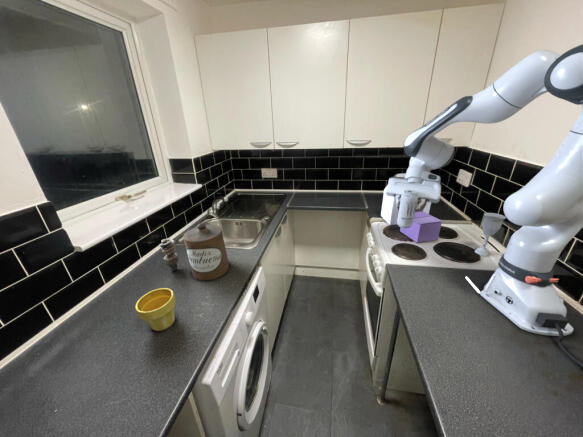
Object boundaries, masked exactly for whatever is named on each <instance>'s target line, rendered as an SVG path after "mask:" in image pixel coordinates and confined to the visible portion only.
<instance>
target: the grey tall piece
mask: <svg viewBox="0 0 583 437" xmlns="http://www.w3.org/2000/svg"><path fill="white" fill-rule="evenodd" d="M159 247H160V250H161V252H162V253H163V254H166V255H165V256H164V257H163V260H164V263H165V265H167V266H168V267H169V270H170V271H172V272H175V271H176V269H178V263H179V256H178V253H177V252H176V249H177V248H176V243H175V240H173V239H171V238H163V239H162V240H161V243H159Z"/></svg>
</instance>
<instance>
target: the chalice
mask: <svg viewBox="0 0 583 437" xmlns="http://www.w3.org/2000/svg"><path fill="white" fill-rule="evenodd" d="M483 216H484V217H483V221H482V223H481V229H482V232H483V235H484V236H485V237H484V238H483V242H482V246H478V247H477V248H476V249H474V253H475V254H477V255H479V256H483V257H488V256H489V255H490V254H489V249H488V248H487V247H486V246H487V245H488V241H489V237H492V236H494V235H495V234H496V233H497V232H499V230H501V227H502V225H503V223H504V221H505V220H506V219H507V217H506V216H505V215H503V214H500V213H495V212H485V213H483Z"/></svg>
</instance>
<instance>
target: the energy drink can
mask: <svg viewBox="0 0 583 437" xmlns="http://www.w3.org/2000/svg"><path fill="white" fill-rule="evenodd" d="M417 201H418V195H417V191H414V190H405V191H404V193H403V194H402V195H401V201H400V207H398V209H399V213H398V219H397V224H396V225H397V226H398V227H399V228H401V227H402V228H410V227H411V226H412V225H413V220H414V215H415V211H416V209H415V208H416V205H417Z"/></svg>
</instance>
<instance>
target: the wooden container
mask: <svg viewBox="0 0 583 437" xmlns="http://www.w3.org/2000/svg"><path fill="white" fill-rule="evenodd" d="M182 237H183V242H184V245H185V249H186V253H187V257H188V261H189V266H190V269H191V272H192V276H193V277H194V278H195V279H197V280H199V281H210V280H214V279H217V278H220V277H222V276H223V275H224V274H226V273H227V271H228V270H229V267H230V265H229V259H228V253H227V248H226V244H225V239H224V234H223V230H222V228H221V226H219V225H216V224H206V223H204V222H198V224H197V225H196V226H195V227H193V228H192V227H191V228H190V229H188V230H187V231H185V232H184V234H183V236H182Z"/></svg>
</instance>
